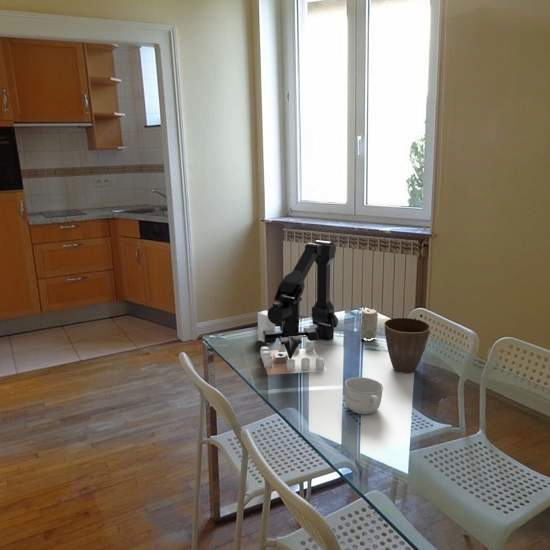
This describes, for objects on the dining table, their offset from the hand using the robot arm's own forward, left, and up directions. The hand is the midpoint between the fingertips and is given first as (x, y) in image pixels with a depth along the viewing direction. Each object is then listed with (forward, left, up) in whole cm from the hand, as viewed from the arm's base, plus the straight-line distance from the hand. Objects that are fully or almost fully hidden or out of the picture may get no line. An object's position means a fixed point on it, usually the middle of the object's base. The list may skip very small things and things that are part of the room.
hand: (289, 358), depth 179 cm
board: (-1, 0, -2) cm, 2 cm away
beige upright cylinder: (-35, -18, -2) cm, 39 cm away
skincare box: (+5, -20, -2) cm, 21 cm away
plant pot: (-38, +10, -2) cm, 39 cm away
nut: (+3, 0, -1) cm, 3 cm away
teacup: (-15, +36, -2) cm, 39 cm away
